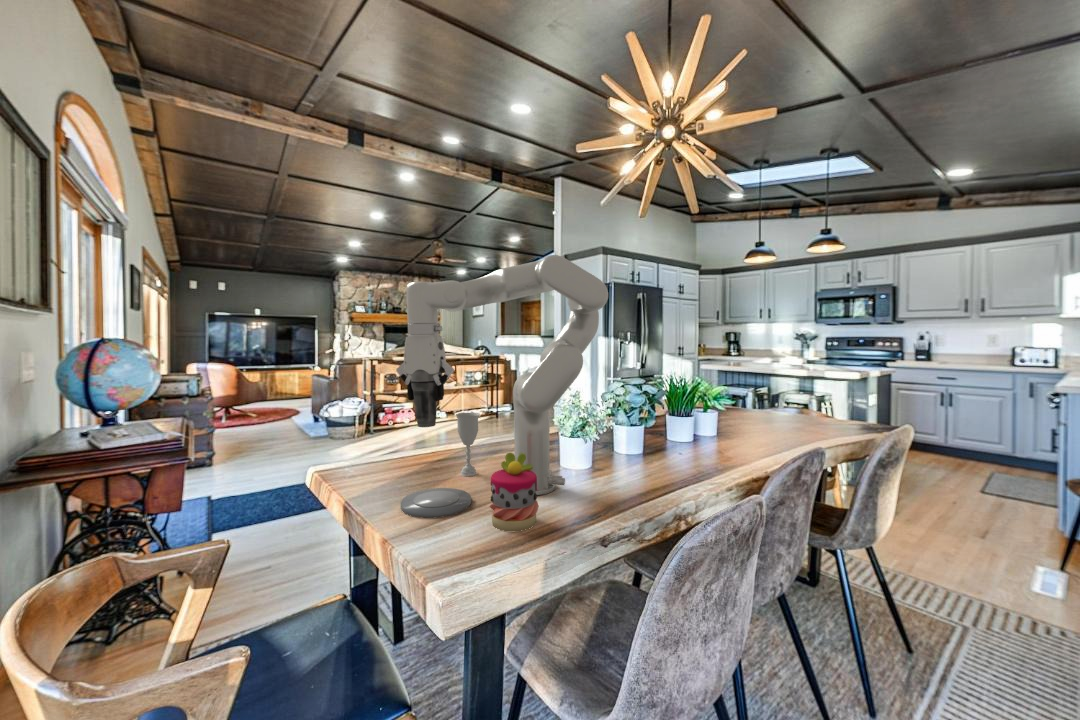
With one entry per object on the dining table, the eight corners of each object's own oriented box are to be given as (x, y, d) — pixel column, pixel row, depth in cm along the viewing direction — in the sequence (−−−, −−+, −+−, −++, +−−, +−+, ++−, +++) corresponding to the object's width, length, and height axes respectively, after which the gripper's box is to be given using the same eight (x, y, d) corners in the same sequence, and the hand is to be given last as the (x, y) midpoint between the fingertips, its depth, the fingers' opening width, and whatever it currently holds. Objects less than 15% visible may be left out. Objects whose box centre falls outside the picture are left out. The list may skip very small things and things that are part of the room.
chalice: (451, 475, 138) (451, 415, 137) (463, 469, 144) (463, 412, 143) (473, 478, 135) (472, 417, 134) (484, 472, 141) (484, 413, 140)
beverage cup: (445, 422, 123) (442, 347, 122) (435, 428, 116) (432, 348, 115) (418, 422, 124) (416, 348, 123) (407, 428, 117) (404, 349, 116)
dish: (481, 495, 121) (481, 489, 121) (453, 521, 104) (453, 514, 104) (422, 490, 125) (422, 484, 125) (386, 514, 109) (386, 507, 108)
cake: (544, 528, 101) (544, 460, 100) (497, 535, 97) (496, 465, 96) (528, 510, 110) (528, 448, 109) (485, 517, 107) (484, 453, 106)
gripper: (460, 330, 119) (463, 398, 121) (401, 331, 124) (404, 397, 126) (446, 330, 112) (449, 403, 113) (385, 331, 117) (388, 401, 118)
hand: (425, 399), depth 119 cm, fingers closed on beverage cup, 7 cm apart
